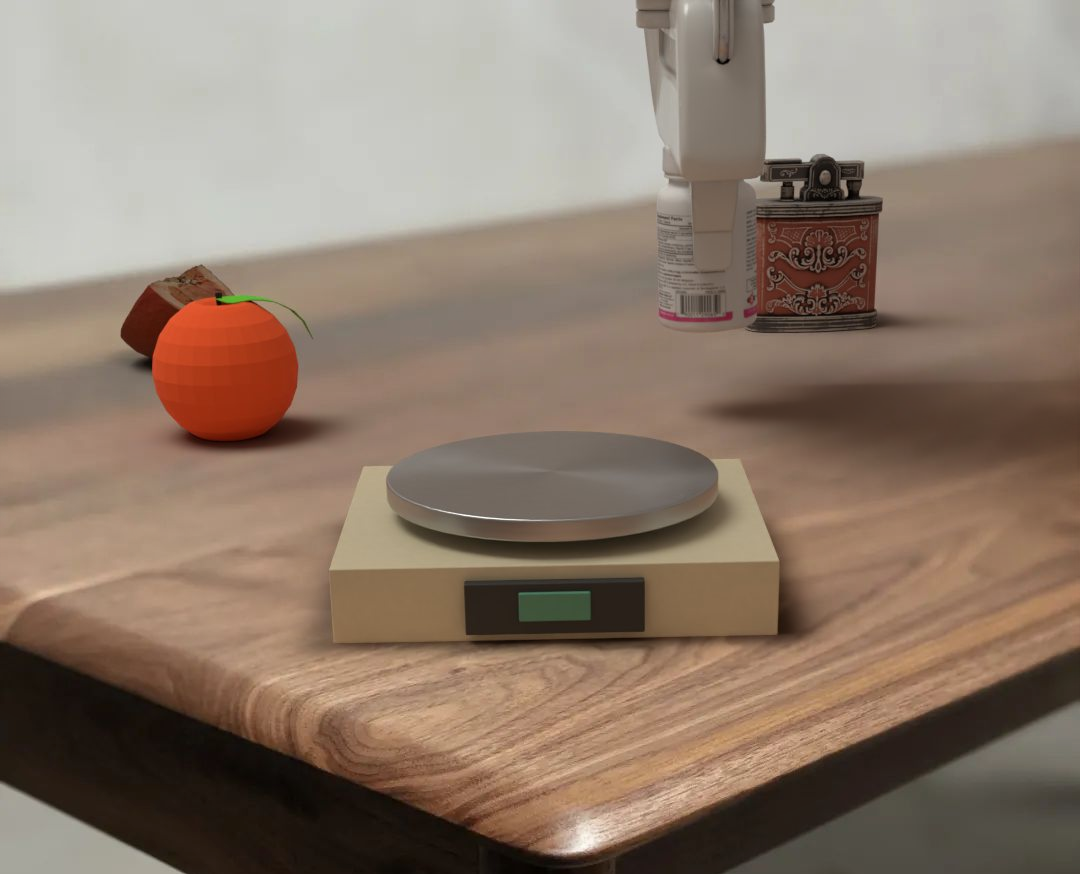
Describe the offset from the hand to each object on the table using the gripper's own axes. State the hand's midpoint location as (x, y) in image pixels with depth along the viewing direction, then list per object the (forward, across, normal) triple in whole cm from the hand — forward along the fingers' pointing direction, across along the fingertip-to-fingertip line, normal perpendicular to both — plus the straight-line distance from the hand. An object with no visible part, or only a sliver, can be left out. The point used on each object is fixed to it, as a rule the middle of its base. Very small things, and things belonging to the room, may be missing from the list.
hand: (706, 258), depth 88 cm
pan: (+4, -25, +8) cm, 27 cm away
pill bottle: (+3, 0, 0) cm, 3 cm away
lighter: (+8, +23, -8) cm, 26 cm away
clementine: (+8, -2, +23) cm, 24 cm away
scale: (+8, -25, +8) cm, 27 cm away
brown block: (+7, +17, +29) cm, 34 cm away
